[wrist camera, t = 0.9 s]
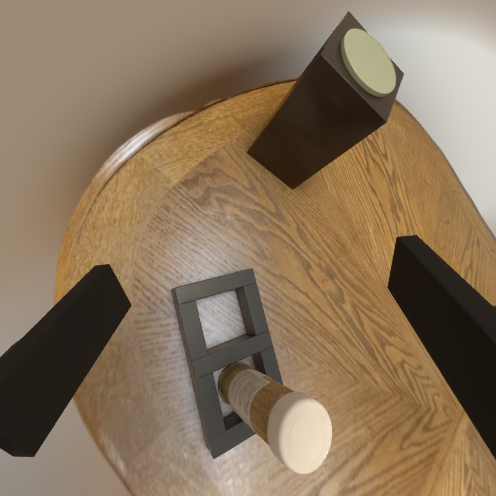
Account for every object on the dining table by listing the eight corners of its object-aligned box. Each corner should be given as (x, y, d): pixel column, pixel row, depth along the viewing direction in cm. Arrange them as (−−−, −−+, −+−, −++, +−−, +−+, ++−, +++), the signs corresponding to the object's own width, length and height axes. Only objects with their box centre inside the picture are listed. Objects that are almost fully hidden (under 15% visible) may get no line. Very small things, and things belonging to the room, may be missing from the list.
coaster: (331, 56, 23) (335, 51, 22) (352, 21, 25) (356, 16, 25) (383, 110, 24) (387, 107, 24) (397, 72, 27) (401, 68, 27)
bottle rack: (171, 289, 28) (174, 288, 26) (244, 270, 32) (252, 268, 30) (206, 446, 26) (213, 459, 24) (279, 404, 30) (290, 412, 28)
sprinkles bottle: (259, 384, 30) (344, 436, 18) (230, 414, 28) (304, 495, 16) (240, 352, 30) (313, 384, 18) (209, 380, 28) (268, 437, 16)
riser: (246, 152, 36) (320, 54, 22) (271, 115, 40) (348, 10, 26) (292, 189, 38) (387, 122, 24) (312, 151, 42) (404, 73, 28)
